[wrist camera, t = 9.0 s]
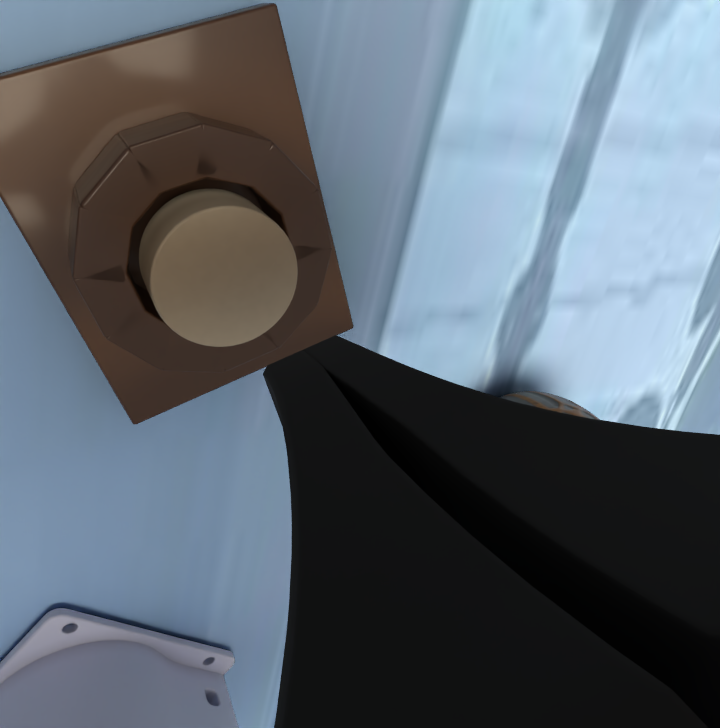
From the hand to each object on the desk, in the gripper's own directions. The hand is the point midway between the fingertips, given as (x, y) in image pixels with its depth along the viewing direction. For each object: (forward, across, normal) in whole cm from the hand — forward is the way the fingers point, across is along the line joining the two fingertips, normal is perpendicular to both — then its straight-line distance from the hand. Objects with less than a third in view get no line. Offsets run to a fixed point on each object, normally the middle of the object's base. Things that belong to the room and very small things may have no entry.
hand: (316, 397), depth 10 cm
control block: (+10, 0, 0) cm, 10 cm away
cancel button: (+7, 0, 0) cm, 7 cm away
